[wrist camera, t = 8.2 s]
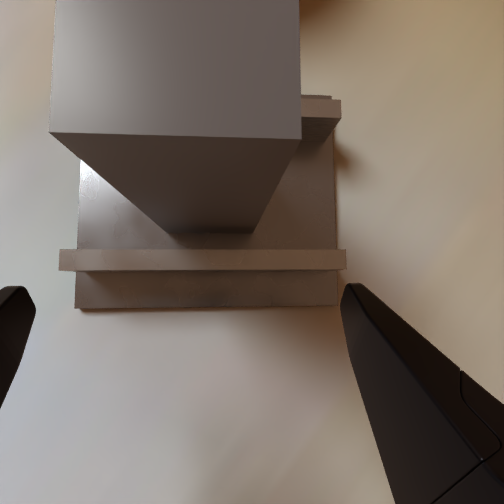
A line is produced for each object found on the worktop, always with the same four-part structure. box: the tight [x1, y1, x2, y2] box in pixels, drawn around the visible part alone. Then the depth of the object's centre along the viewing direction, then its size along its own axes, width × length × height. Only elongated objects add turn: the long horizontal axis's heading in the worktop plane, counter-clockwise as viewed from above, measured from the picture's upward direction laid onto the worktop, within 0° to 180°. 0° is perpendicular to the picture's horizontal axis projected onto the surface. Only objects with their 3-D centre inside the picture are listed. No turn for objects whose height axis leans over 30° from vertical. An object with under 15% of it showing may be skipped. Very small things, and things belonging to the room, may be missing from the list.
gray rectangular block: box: [49, 0, 302, 233], centre depth 13 cm, size 5×5×13 cm
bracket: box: [59, 95, 347, 309], centre depth 19 cm, size 13×15×4 cm
